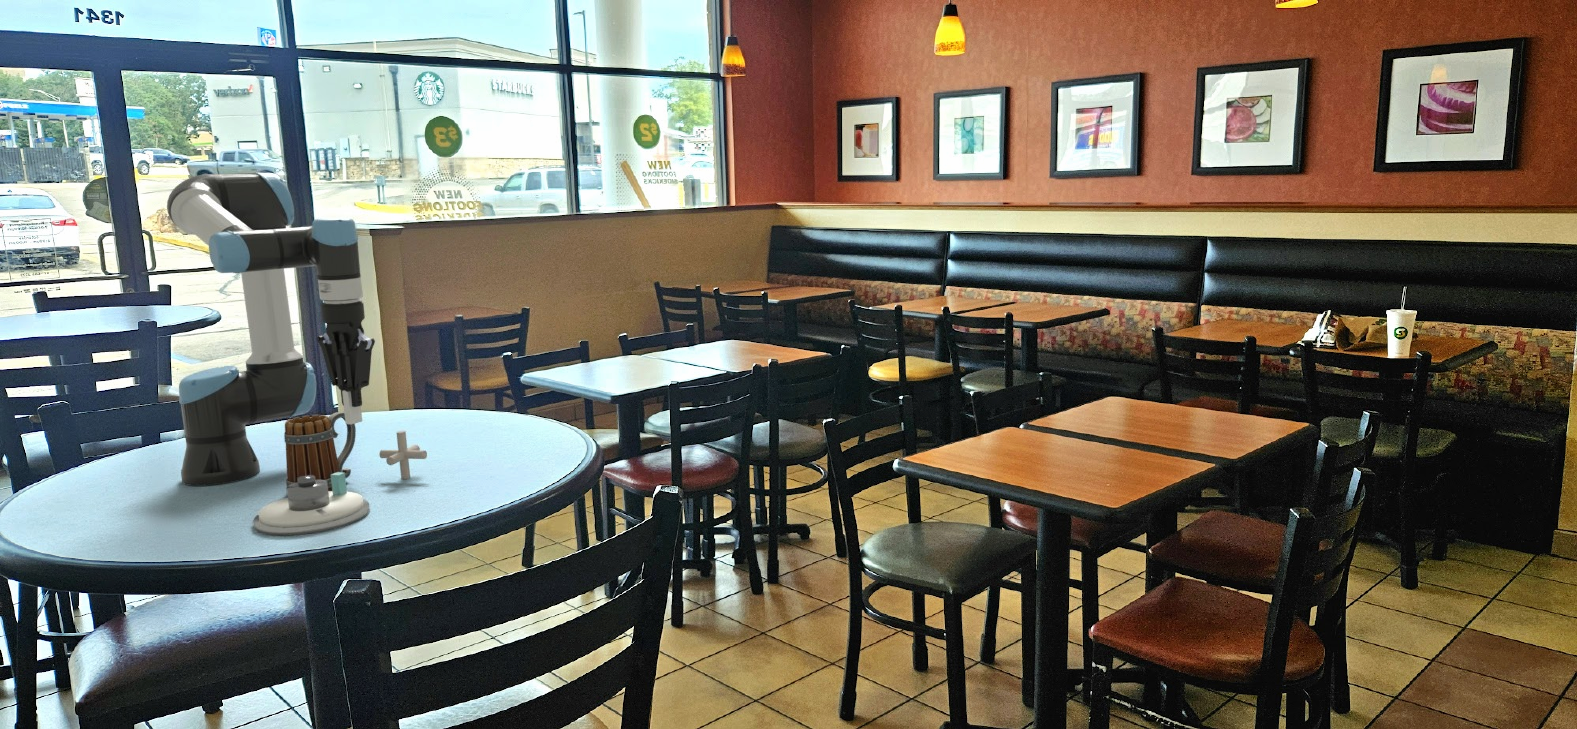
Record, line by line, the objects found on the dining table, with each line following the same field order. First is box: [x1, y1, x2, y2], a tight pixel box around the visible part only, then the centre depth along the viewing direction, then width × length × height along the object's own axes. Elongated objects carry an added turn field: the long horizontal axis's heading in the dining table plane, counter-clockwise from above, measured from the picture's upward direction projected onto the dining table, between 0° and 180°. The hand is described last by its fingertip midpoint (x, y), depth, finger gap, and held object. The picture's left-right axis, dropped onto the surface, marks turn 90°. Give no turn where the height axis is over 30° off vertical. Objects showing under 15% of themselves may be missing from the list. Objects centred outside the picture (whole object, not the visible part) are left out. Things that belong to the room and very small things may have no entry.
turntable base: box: [252, 498, 371, 537], centre depth 202 cm, size 20×20×1 cm
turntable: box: [257, 472, 364, 527], centre depth 202 cm, size 18×18×5 cm
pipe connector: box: [378, 430, 428, 480], centre depth 227 cm, size 10×10×10 cm
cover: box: [286, 475, 330, 511], centre depth 201 cm, size 7×7×6 cm
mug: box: [283, 411, 357, 491], centre depth 222 cm, size 16×11×15 cm
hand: (354, 422), depth 207 cm, fingers closed
